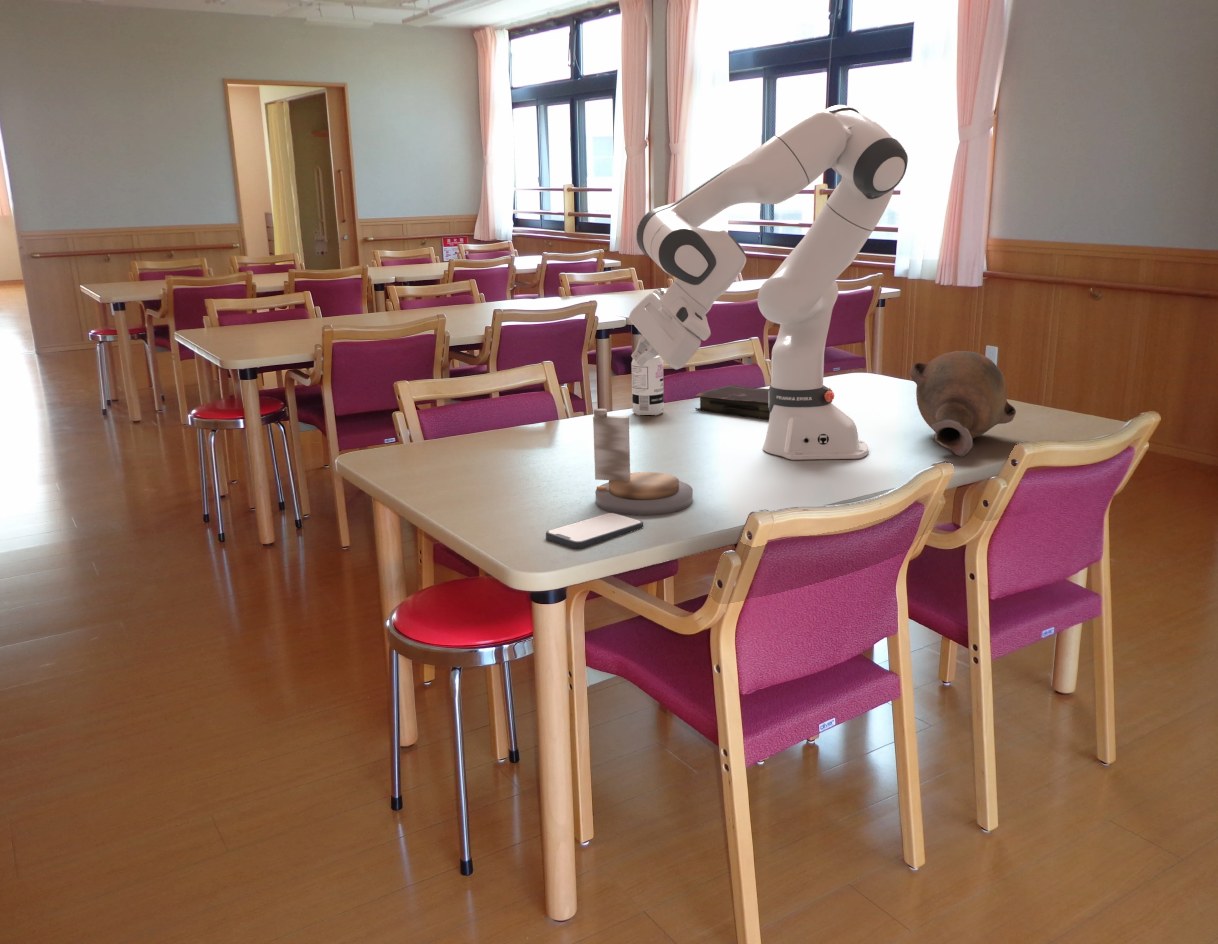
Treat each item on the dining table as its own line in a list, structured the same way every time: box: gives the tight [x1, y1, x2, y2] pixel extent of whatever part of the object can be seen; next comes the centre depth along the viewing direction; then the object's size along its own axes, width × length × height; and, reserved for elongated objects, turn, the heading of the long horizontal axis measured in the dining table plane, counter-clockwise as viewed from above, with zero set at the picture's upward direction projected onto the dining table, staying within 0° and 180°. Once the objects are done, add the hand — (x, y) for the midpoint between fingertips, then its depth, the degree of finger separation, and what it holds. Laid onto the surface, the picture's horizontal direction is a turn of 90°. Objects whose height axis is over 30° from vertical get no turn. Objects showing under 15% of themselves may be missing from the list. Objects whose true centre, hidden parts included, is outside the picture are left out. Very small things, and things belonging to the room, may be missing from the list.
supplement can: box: [630, 354, 665, 416], centre depth 258 cm, size 8×8×15 cm
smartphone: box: [545, 512, 644, 550], centre depth 167 cm, size 9×2×16 cm
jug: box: [909, 350, 1017, 458], centre depth 217 cm, size 20×20×30 cm
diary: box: [694, 384, 770, 421], centre depth 259 cm, size 19×25×5 cm
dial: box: [592, 408, 680, 499], centre depth 182 cm, size 16×13×15 cm
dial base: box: [594, 480, 694, 516], centre depth 184 cm, size 18×18×2 cm
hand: (636, 361), depth 196 cm, fingers closed
